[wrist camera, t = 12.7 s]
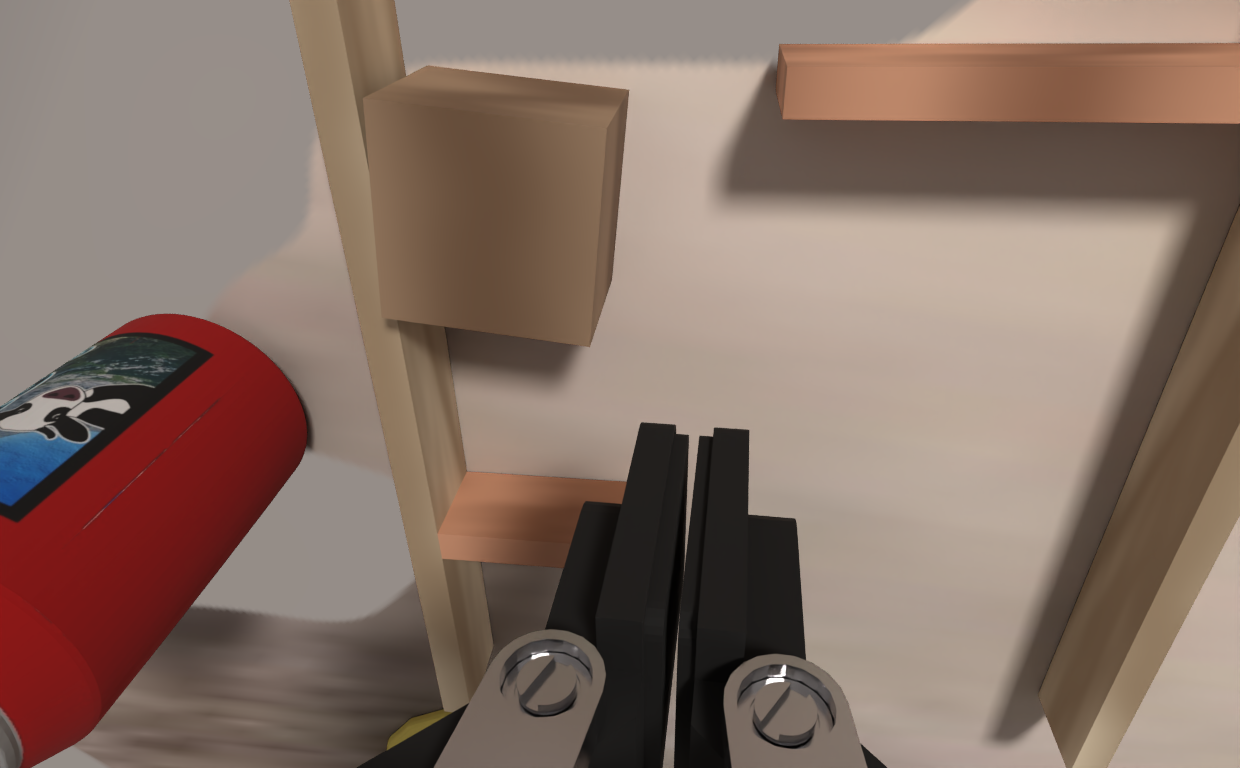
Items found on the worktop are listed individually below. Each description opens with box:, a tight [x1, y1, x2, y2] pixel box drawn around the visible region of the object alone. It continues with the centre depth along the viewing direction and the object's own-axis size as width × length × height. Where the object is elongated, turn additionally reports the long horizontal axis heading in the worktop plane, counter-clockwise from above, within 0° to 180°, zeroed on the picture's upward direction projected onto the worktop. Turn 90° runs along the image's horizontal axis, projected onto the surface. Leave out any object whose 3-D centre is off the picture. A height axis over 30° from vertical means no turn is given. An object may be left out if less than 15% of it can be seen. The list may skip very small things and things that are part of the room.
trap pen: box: [289, 0, 1240, 768], centre depth 20 cm, size 22×30×3 cm
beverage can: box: [0, 314, 307, 768], centre depth 20 cm, size 7×7×12 cm
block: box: [363, 65, 629, 347], centre depth 18 cm, size 5×5×4 cm
